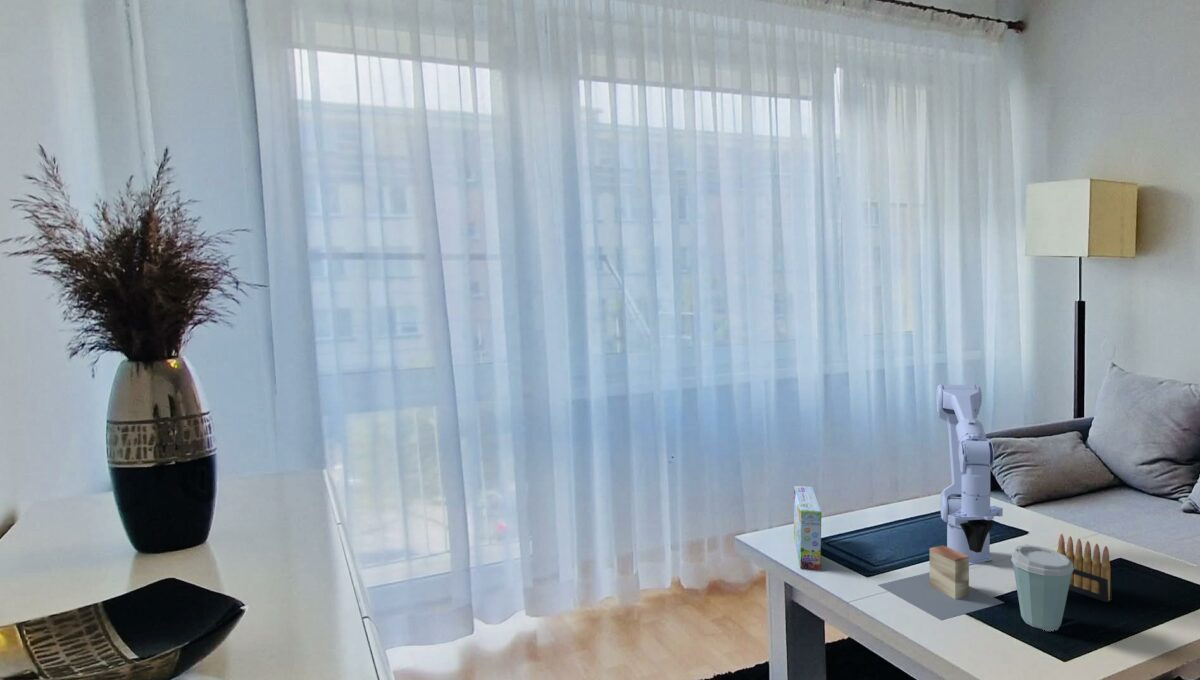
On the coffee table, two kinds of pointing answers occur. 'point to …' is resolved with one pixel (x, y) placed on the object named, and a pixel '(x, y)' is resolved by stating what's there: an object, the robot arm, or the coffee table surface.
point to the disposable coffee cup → (1041, 585)
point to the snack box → (807, 527)
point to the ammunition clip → (1088, 570)
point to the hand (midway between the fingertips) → (975, 550)
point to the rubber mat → (938, 597)
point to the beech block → (949, 571)
